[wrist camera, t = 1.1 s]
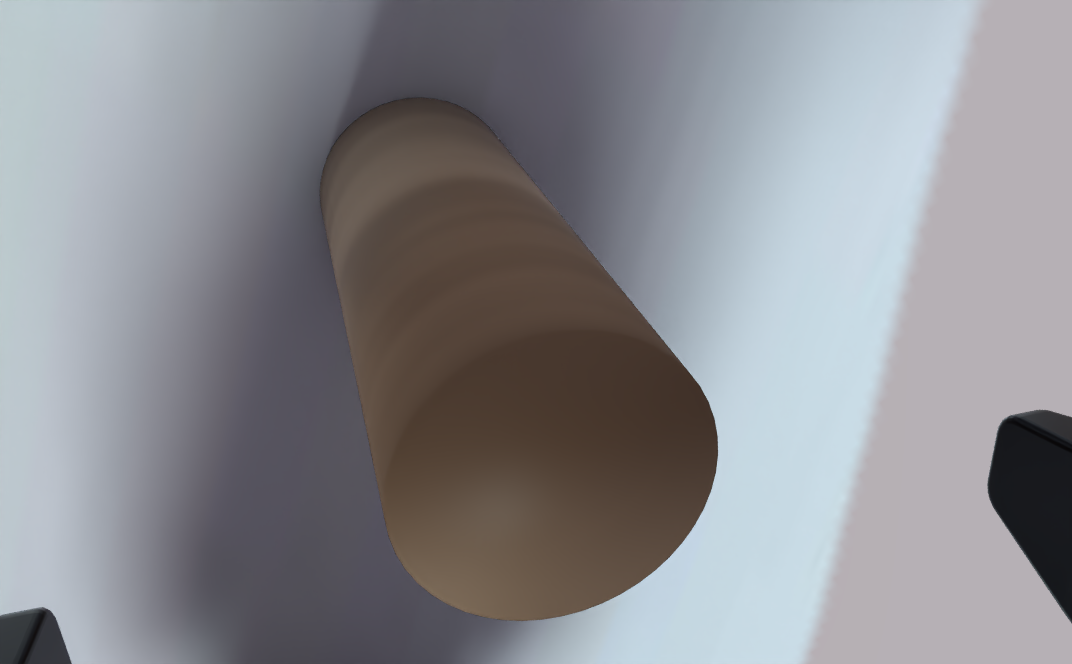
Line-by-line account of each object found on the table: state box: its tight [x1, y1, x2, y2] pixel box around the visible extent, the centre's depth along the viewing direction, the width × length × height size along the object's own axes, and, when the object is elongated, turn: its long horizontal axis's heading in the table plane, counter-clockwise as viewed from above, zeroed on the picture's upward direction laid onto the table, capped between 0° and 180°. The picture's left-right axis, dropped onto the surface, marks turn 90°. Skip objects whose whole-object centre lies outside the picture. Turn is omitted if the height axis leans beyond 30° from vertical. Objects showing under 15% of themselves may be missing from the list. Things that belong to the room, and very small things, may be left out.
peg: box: [320, 98, 718, 621], centre depth 14 cm, size 3×3×9 cm
